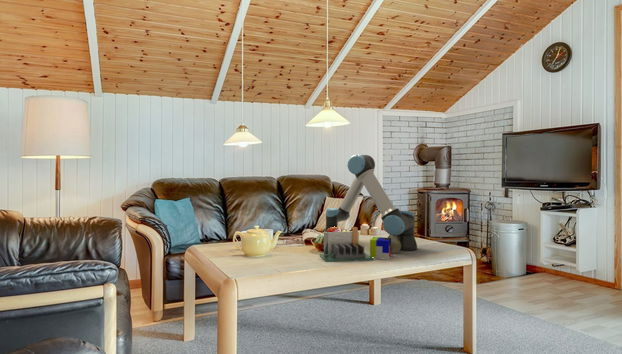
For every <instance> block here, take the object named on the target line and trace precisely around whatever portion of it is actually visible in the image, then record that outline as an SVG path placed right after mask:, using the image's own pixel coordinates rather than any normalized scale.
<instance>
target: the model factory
mask: <svg viewBox="0 0 622 354" xmlns="http://www.w3.org/2000/svg"><path fill="white" fill-rule="evenodd" d="M350 230H351V232H352V247H351V246H349V245H348V244H346V248H345V247H344V246H343V245H340V252H339V247H337V246H336V245H333V254H324V253H320V254H319V257H321V259H323V261H324V262H327V263H329V262H332V261H333V262H350V261H351V262H353V261H354V260H359V261H373V260H374V258H372V257H370V254H367V253H366V252H365V248H366V247H365V246H363V245H362V244H361V243H359V244H358V232H359V231H358V230H359V229H358V227H356V226H351V227H350ZM354 262H355V261H354Z"/></svg>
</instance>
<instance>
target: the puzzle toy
mask: <svg viewBox="0 0 622 354" xmlns="http://www.w3.org/2000/svg"><path fill="white" fill-rule="evenodd" d="M369 256H370V257H374V258H373V259H379V258H384V259H383V260H389V259H390V258H389V257H391V256H392V253H391V238H388V237H383V236H382V237H380V236H379V237H378V236H373V237H372V238H370V239H369Z"/></svg>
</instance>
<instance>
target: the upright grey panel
mask: <svg viewBox="0 0 622 354" xmlns="http://www.w3.org/2000/svg"><path fill="white" fill-rule="evenodd" d="M359 241H360V232H359V231H358V244H360V242H359ZM346 244H348V245H349V246H351V247H352V231H340V232H324V231H323V254H333V245H336V246H337V247H339V252H340V245H343V246H344V247H345V248H346Z"/></svg>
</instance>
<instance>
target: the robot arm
mask: <svg viewBox="0 0 622 354" xmlns="http://www.w3.org/2000/svg"><path fill="white" fill-rule="evenodd" d="M346 167H347V169H348V171H349V172H350V173H351V174H353V175H354V176H355V177H354V179H353V181H352V182H351V184H350V187H349V188H348V190H347V192H346V194H345V195H344V198H343V199H342V202H341V203H340V206H339V207H338V208H335V207H329V208H326V211H325V212H326V213H325V228H324V231H323V233H324V232H327V229H328V228H330V227H334V226H335V227H337V228H338V226H339V224H338V223H340V222H344V221H347V220H348V219H349V218H350V215H351V213H350V212H351V210H352V209H353V207H354V204H356V201H357V200H358V198H359V195H360V194H361V193H362V190H363V188H365V189H366V191H367V192H368V194H369V197H370V198H371V199H372V201H373V202H374V204H375V206H376V207H377V209H378V211H379V212H380V214H381V217H380V219H381V221H382V227H383V229H384V231H385V232H386V233H387V234H388V235H397V237H398V239H399V241H400V242H401V245H402V246H401V249H400V250H399V251H401V250H413V251H416V250H415V249H417V250H418V244H417V241H416V238H415V225H416V223H415V221H416V220H415V219H416V215H415V212H413V211H410V210H409V211H407V210H400V209H399V208H398V207H395V206H394V204H393V203H392V201H391V199H390V198H389V196H388V194H387V193H386V191H385V189H384V187H382V185H381V183H380V181H379V180H378V178H377V177H376V175H375V174H374V172H375V167H376V162H375V160H374V158H373V157H372V156H370V155H367V154H361V153H360V154H357V153H356V154H353V155H352V156H350V158H348V161H347V165H346Z"/></svg>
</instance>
